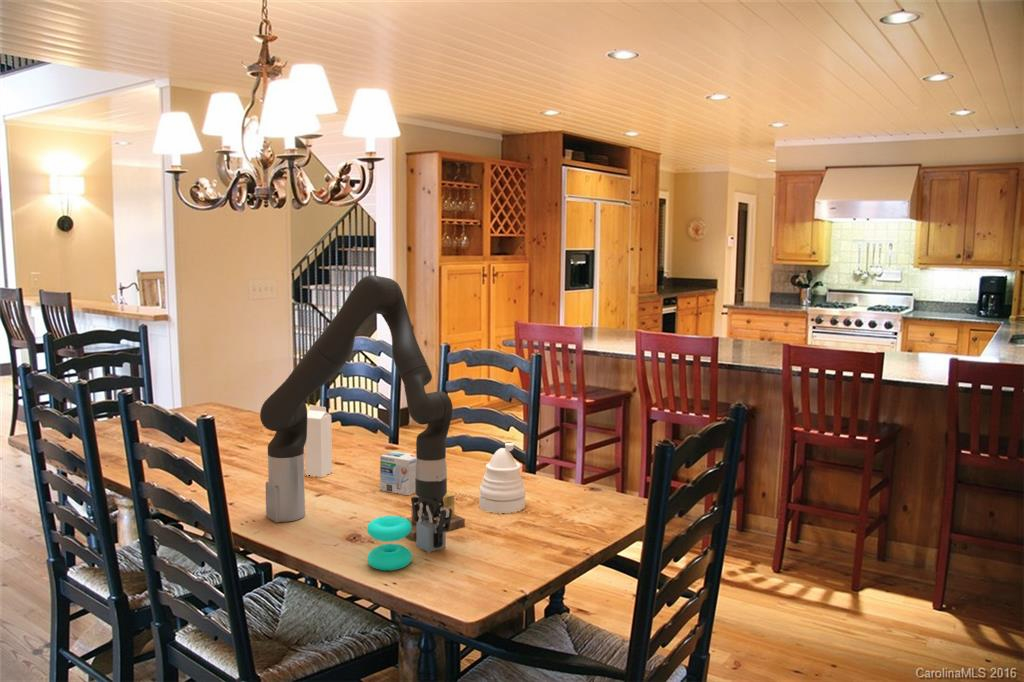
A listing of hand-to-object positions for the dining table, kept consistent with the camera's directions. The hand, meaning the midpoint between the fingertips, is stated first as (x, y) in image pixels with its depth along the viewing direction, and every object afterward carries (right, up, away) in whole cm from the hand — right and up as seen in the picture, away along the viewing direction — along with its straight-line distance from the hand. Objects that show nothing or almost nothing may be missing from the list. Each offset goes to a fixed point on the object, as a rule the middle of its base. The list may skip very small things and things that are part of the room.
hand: (431, 543), depth 189 cm
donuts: (-8, -2, -10) cm, 13 cm away
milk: (-42, +6, +59) cm, 72 cm away
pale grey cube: (0, -1, 0) cm, 1 cm away
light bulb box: (-14, +4, +44) cm, 46 cm away
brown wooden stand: (-2, +1, +13) cm, 13 cm away
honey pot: (+17, +2, +31) cm, 35 cm away
